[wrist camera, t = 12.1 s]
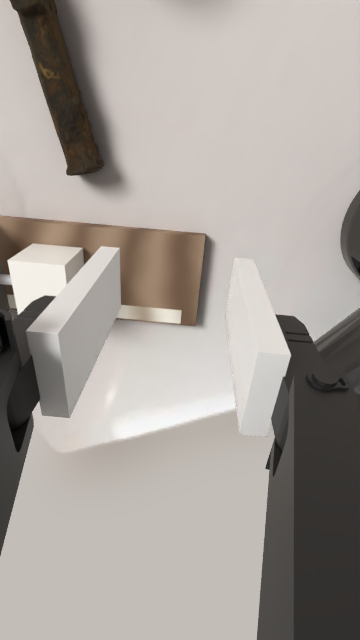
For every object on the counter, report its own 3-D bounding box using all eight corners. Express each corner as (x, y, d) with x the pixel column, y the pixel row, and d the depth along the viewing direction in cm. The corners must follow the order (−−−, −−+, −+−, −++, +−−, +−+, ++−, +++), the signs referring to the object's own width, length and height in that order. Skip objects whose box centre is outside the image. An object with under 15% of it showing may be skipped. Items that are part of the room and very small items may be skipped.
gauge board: (205, 233, 39) (205, 260, 31) (195, 320, 45) (194, 362, 37) (-43, 211, 40) (-107, 232, 32) (-20, 300, 46) (-69, 337, 38)
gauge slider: (82, 247, 39) (64, 265, 34) (88, 317, 44) (72, 342, 39) (8, 241, 40) (-22, 257, 34) (21, 311, 44) (-3, 335, 39)
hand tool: (109, 168, 37) (98, 173, 33) (75, 174, 37) (60, 179, 33) (51, -76, 28) (26, -112, 24) (7, -65, 28) (-25, -98, 24)
